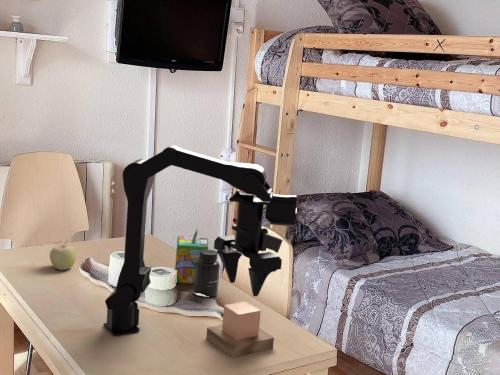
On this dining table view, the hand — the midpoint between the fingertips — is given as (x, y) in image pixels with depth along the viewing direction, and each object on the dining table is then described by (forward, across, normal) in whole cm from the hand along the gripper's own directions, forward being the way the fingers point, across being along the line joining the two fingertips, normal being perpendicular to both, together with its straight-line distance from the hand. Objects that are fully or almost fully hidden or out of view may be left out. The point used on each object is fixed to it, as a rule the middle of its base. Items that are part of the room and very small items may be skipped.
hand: (243, 289), depth 144 cm
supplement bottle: (+13, +30, -9) cm, 34 cm away
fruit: (+13, +64, +19) cm, 68 cm away
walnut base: (+13, 0, 0) cm, 13 cm away
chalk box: (+13, +42, -11) cm, 45 cm away
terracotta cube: (+10, 0, 0) cm, 10 cm away
